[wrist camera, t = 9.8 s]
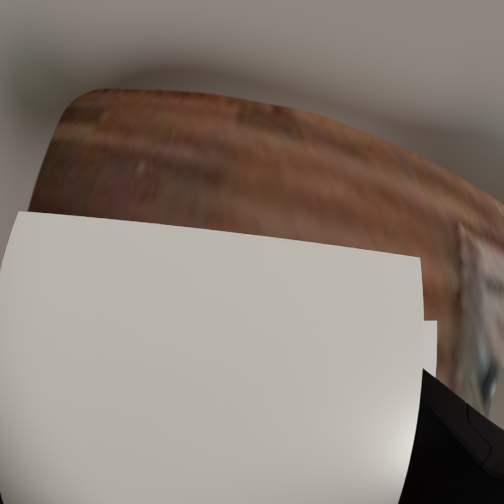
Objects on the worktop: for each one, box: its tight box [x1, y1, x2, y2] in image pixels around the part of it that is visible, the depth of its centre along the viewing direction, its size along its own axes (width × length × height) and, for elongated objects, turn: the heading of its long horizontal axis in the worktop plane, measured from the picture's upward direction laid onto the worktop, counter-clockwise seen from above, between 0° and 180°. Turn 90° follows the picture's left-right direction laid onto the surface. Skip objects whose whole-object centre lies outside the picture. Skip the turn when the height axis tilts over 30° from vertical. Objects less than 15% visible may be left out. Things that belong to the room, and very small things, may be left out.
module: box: [0, 211, 424, 504], centre depth 8 cm, size 5×5×13 cm
